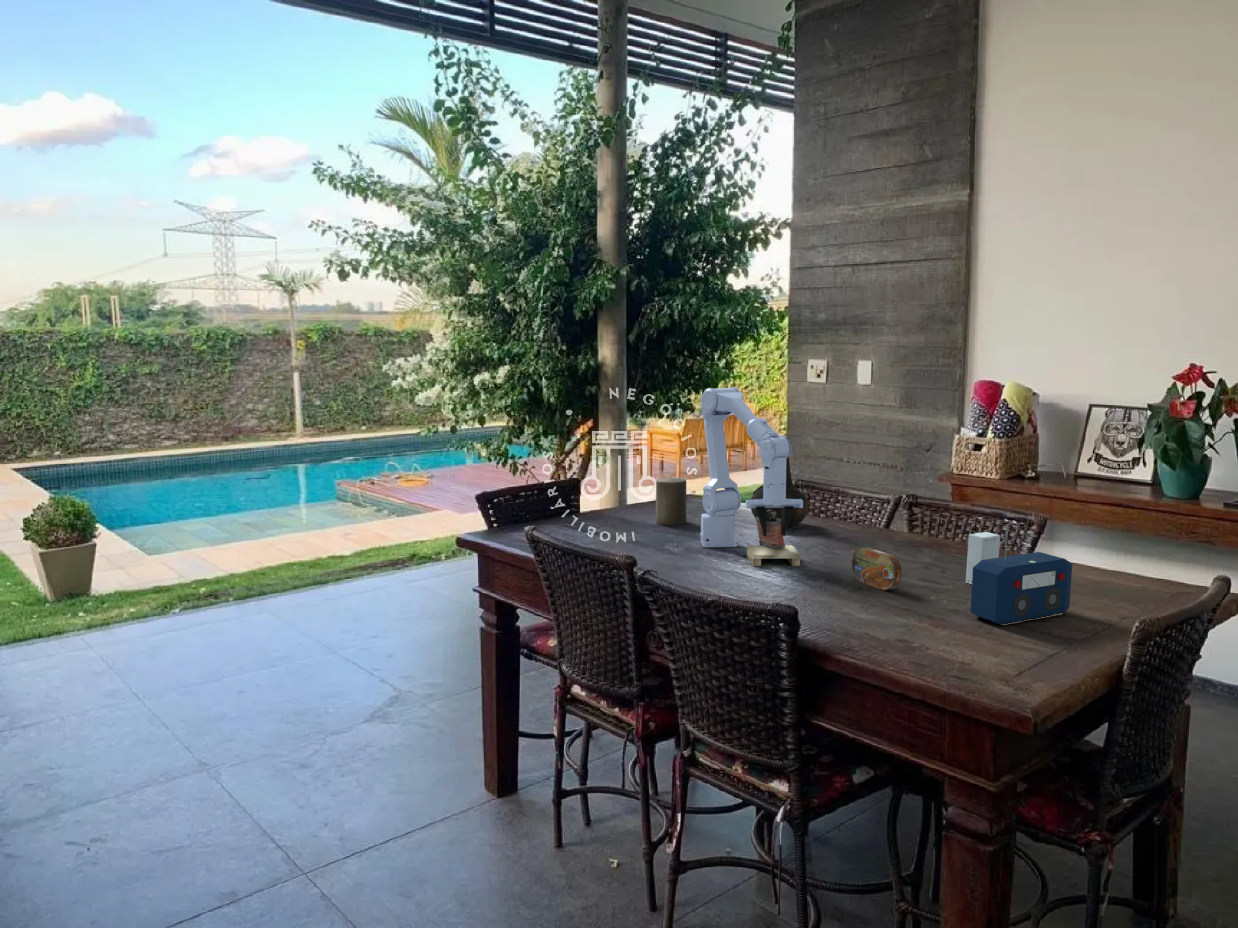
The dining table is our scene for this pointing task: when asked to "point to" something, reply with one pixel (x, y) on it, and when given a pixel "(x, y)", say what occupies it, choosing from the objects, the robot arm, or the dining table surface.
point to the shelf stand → (772, 554)
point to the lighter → (771, 532)
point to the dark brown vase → (790, 494)
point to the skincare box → (981, 550)
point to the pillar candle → (671, 501)
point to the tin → (876, 568)
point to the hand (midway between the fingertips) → (773, 535)
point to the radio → (1020, 587)
